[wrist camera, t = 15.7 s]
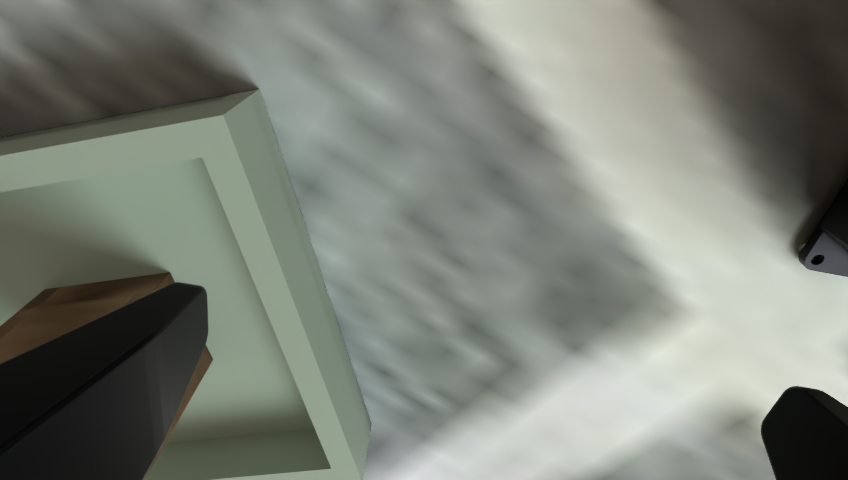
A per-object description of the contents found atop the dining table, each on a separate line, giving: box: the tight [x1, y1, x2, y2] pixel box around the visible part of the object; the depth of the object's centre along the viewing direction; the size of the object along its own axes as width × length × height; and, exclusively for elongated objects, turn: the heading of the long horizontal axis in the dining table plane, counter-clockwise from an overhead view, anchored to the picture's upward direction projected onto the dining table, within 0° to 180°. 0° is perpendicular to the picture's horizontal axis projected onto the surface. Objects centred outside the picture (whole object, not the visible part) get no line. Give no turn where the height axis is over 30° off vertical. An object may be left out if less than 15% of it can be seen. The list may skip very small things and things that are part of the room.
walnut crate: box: [0, 272, 213, 480], centre depth 18 cm, size 6×5×12 cm
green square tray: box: [0, 89, 371, 480], centre depth 23 cm, size 18×18×4 cm
